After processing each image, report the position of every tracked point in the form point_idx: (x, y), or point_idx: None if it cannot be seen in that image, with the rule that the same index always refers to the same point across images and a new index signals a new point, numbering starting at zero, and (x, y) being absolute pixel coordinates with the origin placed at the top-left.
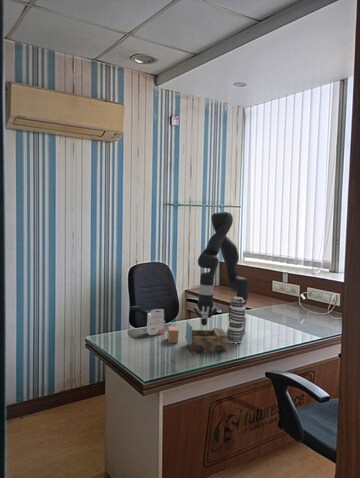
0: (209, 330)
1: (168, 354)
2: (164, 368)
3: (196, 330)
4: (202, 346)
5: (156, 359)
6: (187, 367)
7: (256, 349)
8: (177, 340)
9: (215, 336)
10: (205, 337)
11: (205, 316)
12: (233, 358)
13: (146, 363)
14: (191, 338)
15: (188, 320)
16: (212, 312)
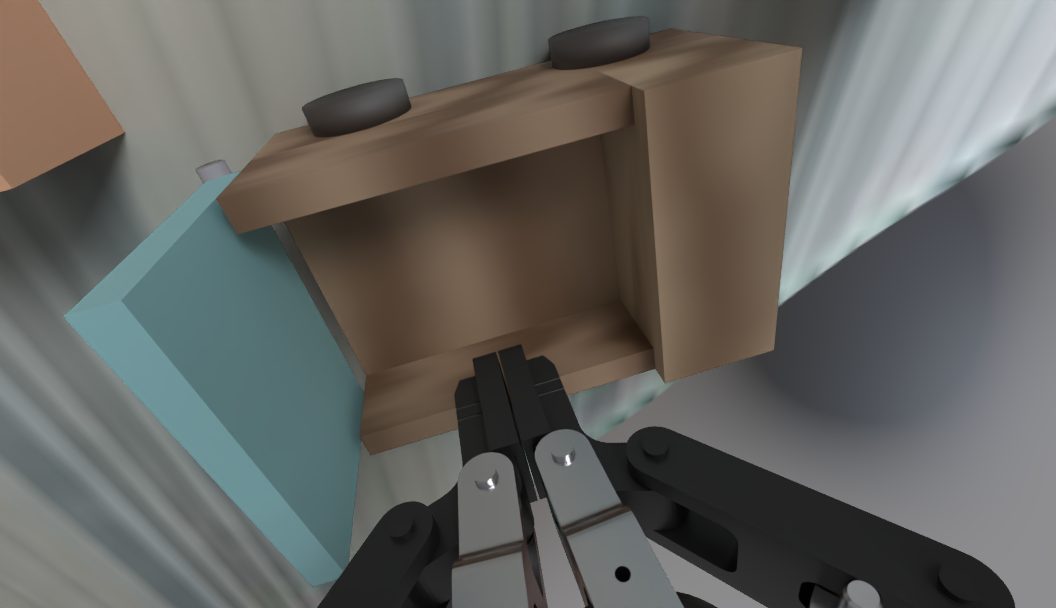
0: (575, 133)
1: None
2: (277, 595)
3: (358, 199)
4: None
5: (154, 534)
6: None
7: (984, 88)
8: (101, 142)
9: (637, 270)
10: None
11: (566, 550)
12: None
13: (125, 593)
14: (359, 442)
15: (124, 330)
16: (774, 603)
